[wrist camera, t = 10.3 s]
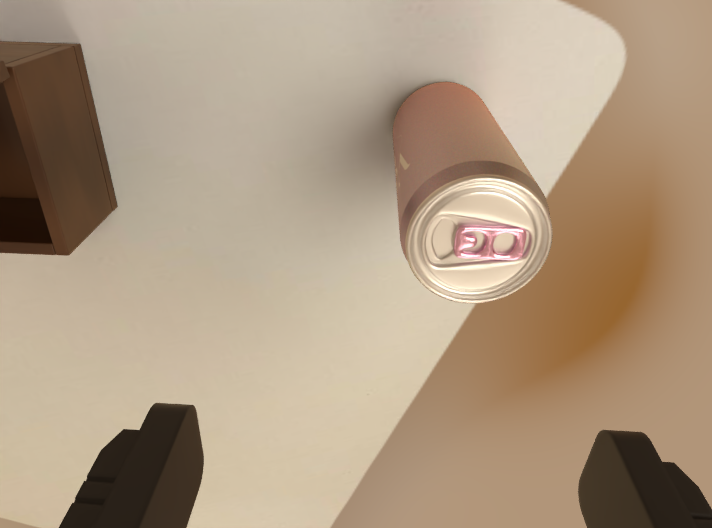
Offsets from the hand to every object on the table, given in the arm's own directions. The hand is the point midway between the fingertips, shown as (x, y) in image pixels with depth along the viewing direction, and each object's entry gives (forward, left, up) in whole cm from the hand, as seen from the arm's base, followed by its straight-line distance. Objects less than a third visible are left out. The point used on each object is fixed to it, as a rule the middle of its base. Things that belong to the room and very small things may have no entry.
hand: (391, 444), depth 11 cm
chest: (+2, -23, -26) cm, 35 cm away
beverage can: (+1, +4, -26) cm, 26 cm away
